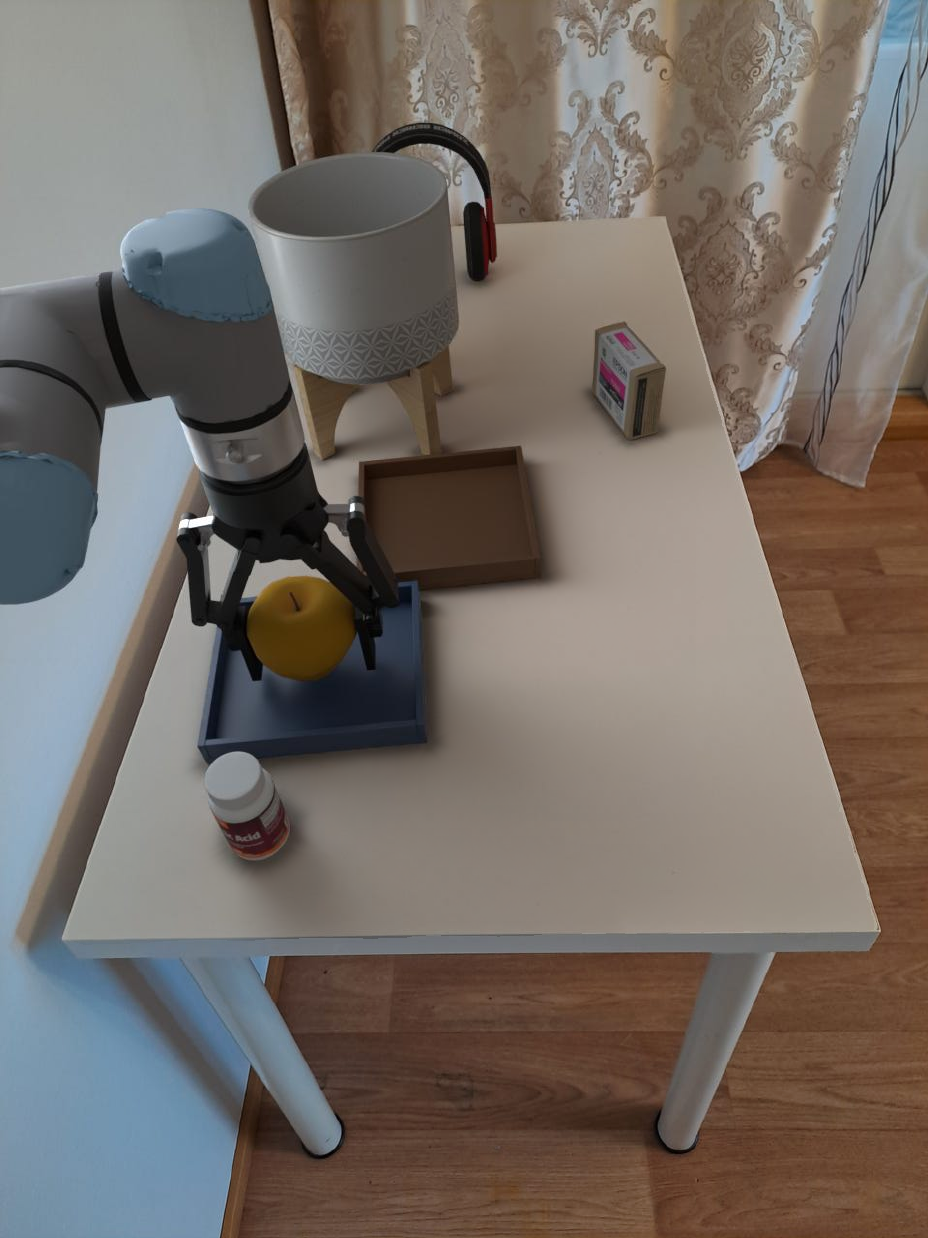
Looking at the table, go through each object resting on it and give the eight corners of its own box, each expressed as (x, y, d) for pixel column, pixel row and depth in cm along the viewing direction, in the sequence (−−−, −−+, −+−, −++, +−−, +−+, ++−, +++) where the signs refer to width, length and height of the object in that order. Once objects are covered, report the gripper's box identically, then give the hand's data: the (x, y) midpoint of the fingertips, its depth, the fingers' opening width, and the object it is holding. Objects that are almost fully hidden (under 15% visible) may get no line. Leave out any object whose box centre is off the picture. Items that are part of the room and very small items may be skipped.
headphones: (370, 303, 123) (345, 148, 108) (373, 268, 129) (349, 117, 115) (499, 292, 122) (491, 135, 107) (495, 258, 129) (488, 105, 114)
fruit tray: (206, 764, 74) (197, 746, 72) (228, 618, 85) (220, 599, 83) (427, 743, 74) (423, 724, 72) (420, 599, 85) (417, 580, 83)
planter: (501, 420, 103) (488, 186, 83) (367, 496, 95) (319, 259, 76) (402, 357, 113) (370, 136, 94) (274, 422, 106) (211, 196, 87)
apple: (379, 634, 80) (364, 561, 73) (346, 714, 74) (326, 643, 68) (285, 619, 82) (262, 547, 75) (245, 697, 76) (217, 626, 70)
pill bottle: (219, 854, 68) (185, 796, 62) (247, 800, 71) (217, 740, 65) (275, 869, 67) (247, 811, 61) (301, 814, 70) (277, 754, 64)
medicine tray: (360, 595, 86) (356, 576, 84) (362, 480, 97) (358, 461, 95) (541, 577, 86) (541, 558, 84) (521, 464, 97) (521, 445, 95)
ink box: (590, 392, 105) (592, 327, 99) (620, 385, 106) (625, 319, 99) (628, 442, 98) (633, 375, 92) (660, 433, 99) (667, 366, 93)
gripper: (79, 504, 59) (183, 710, 76) (412, 472, 59) (442, 685, 75) (103, 435, 64) (195, 642, 81) (409, 405, 64) (438, 619, 80)
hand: (314, 663), depth 78 cm, fingers closed on apple, 9 cm apart
